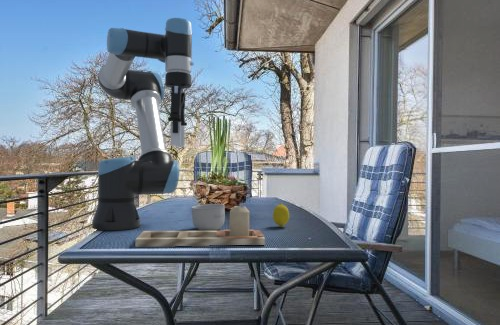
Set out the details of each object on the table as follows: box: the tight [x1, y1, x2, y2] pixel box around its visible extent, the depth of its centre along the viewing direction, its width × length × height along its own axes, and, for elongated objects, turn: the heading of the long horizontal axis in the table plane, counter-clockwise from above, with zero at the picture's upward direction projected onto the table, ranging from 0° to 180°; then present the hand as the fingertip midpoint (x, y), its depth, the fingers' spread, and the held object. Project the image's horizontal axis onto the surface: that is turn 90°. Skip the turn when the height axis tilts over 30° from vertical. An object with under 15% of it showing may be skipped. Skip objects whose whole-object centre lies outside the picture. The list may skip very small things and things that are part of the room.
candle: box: [229, 205, 250, 236], centre depth 114 cm, size 6×6×10 cm
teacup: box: [191, 203, 226, 231], centre depth 134 cm, size 14×11×8 cm
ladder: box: [134, 229, 266, 248], centre depth 114 cm, size 34×12×2 cm, turn 95°
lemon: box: [272, 203, 290, 228], centre depth 139 cm, size 6×6×8 cm
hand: (177, 146), depth 119 cm, fingers open, 13 cm apart
